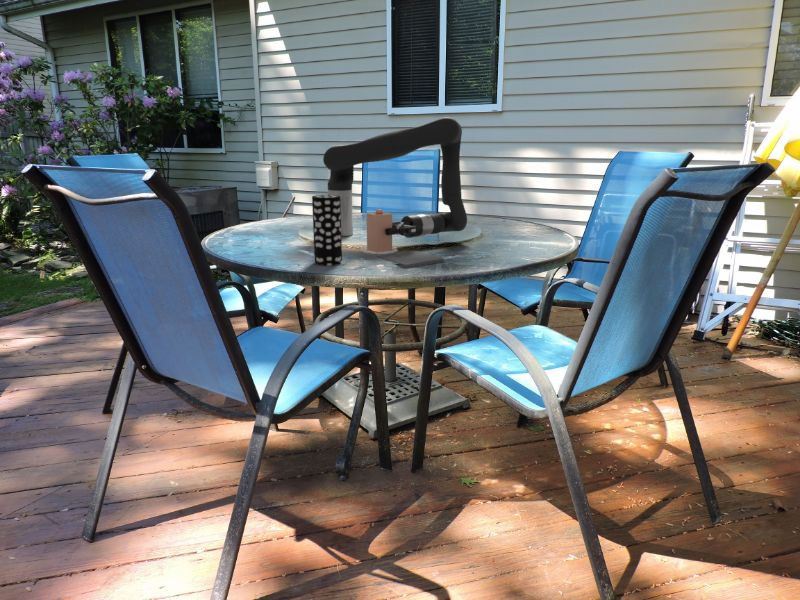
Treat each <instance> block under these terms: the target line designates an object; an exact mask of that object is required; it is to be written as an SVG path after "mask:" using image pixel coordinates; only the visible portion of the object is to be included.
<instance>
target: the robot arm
mask: <svg viewBox="0 0 800 600" xmlns="http://www.w3.org/2000/svg"><path fill="white" fill-rule="evenodd" d="M462 131H463V129H462V126H461V125H460V123H459V122H458V121H457V120H456V119H455V118H452V117H449V116H445V117H441V118H438V119H435V120H434V121H431V122H428V123H427V122H426V123H425V124H422V125H419V126H415V127H409V128H404V129H399V130H393V131H390V132H386V133H382V134H378V135H376V136H372V137H370V138H367V139H365V140H362V141H359V142H356V143H352V144H344V145H335V146H331V147H329V148H328V149H326V150H325V153H324V154H323V159H322V160H323V164H324V166H325V167H326V168H327V169H328V170H329V171H330V172H329V173H330V177H329V180H328V181H327V195H338V196H340V202H341V237H348V236H353V235H354V223H353V220H354V219H353V183H354V166H356V165H361V164H365V163H376V162H383V161H389V160H392V159H397V158H401V157H403V156H406V155H408V154H410V153H413V152H415V151H417V150H420V149H422V148H425V147H431V146H437V145H440V150H441V156H442V168H441V170H442V171H441V177H440V178H441V179H440V180H441V181H440V186H441V201H442V203H443V205H444V206H448V208H449V210H450V211H448V212H440V213H429V214H428V213H427V214H423V213H422V214H412V215H411V214H410V215H404V216H403V217H402V219H401V221H400V220H395V221H393V220H392V228H386V229H385V234H386V235H392V236H395V235H396V236H401V237H405V238H407V239H408V238H409V239H412V238H418V237H426V236H428V235H429V236H430V235H435V234H440V233H445V232H447V233H448V232H461V231H463V230H465V228H466V226H467V223H468V215H467V212H466V208H465V206H464V202H463V197H462V181H461V169H460V168H461V167H460V160H461V159H460V158H461V157H460V154H461V153H460V152H461V144H462V143H461V142H462V135H463V132H462Z"/></svg>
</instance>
